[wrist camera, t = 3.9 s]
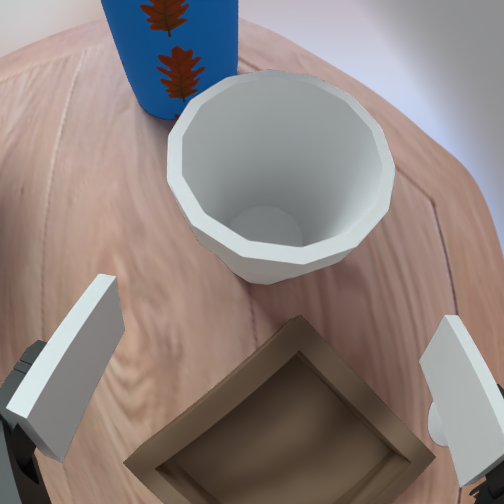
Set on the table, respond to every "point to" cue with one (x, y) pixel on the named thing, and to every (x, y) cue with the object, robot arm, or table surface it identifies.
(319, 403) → the square wooden tray
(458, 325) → the robot arm
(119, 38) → the thermos
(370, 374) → the table surface
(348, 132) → the foam cup
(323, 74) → the table surface
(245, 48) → the table surface
